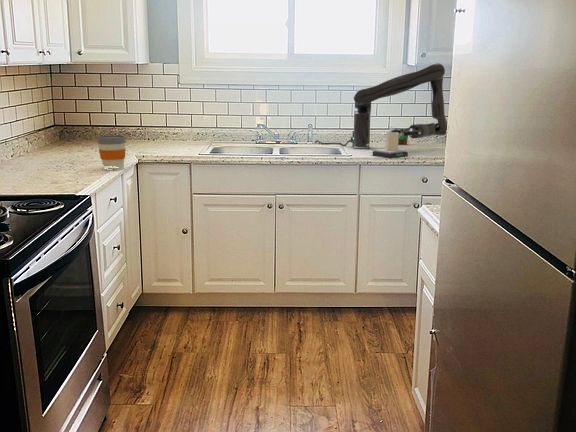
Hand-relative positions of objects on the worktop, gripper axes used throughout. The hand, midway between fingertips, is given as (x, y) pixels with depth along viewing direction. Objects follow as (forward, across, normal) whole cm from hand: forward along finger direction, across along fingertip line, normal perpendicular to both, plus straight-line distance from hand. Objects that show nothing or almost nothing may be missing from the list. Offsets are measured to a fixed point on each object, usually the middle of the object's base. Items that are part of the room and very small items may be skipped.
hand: (398, 133), depth 325 cm
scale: (+6, 0, +12) cm, 13 cm away
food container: (-32, -30, +12) cm, 46 cm away
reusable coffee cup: (+136, -51, +12) cm, 146 cm away
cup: (+4, 0, +8) cm, 10 cm away
